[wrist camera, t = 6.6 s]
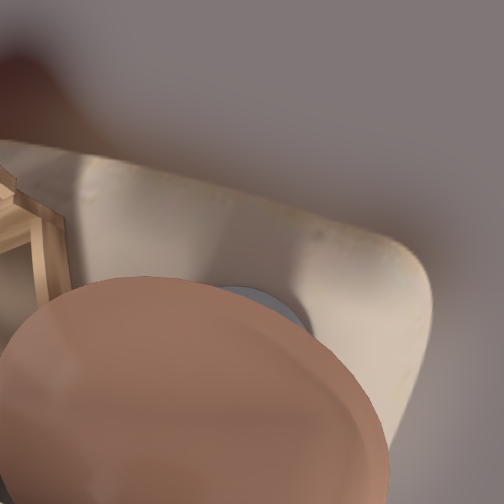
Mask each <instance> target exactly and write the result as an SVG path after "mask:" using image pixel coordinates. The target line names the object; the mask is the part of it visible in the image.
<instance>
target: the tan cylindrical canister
mask: <svg viewBox="0 0 504 504" xmlns="http://www.w3.org/2000/svg"><path fill="white" fill-rule="evenodd" d="M0 475H1V477H2V480H3V482H4V484H5V486H6V489H7V491H8V493H9V495H10V497H11V498H12V500H13V502H14V504H386V500H387V496H388V490H389V479H390V478H389V477H390V466H389V455H388V447H387V443H386V439H385V436H384V432H383V429H382V425H381V422H380V420H379V418H378V416H377V414H376V412H375V410H374V407H373V405H372V403H371V401H370V399H369V398H368V396H367V395H366V393H365V392H364V390H363V389H362V387H361V386H360V384H359V383H358V381H357V380H356V379H355V377H354V376H353V374H352V373H351V372H350V371H349V370H348V369H347V368H346V367H345V366H344V365H343V364H342V362H341V361H340V360H339V359H338V358H337V357H336V356H335V355H334V354H333V353H332V352H331V351H330V350H329V349H328V348H327V347H325V346H324V345H323V344H322V343H320V342H319V341H318V340H317V339H316V338H314V337H313V336H312V335H311V334H310V333H308V332H307V331H306V330H304V329H303V328H301V327H300V326H298V325H296V324H295V323H293V322H292V321H290V320H288V319H287V318H285V317H284V316H282V315H281V314H279V313H277V312H276V311H274V310H272V309H269V308H267V307H265V306H263V305H261V304H259V303H257V302H255V301H252V300H250V299H248V298H246V297H244V296H241V295H238V294H235V293H232V292H229V291H226V290H223V289H220V288H217V287H214V286H211V285H206V284H201V283H196V282H191V281H186V280H182V279H175V278H161V277H148V276H142V277H127V278H114V279H109V280H104V281H100V282H95V283H90V284H87V285H84V286H81V287H79V288H76V289H74V290H71V291H68V292H66V293H63V294H62V295H60V296H58V297H57V298H55V299H53V300H51V301H50V302H48V303H46V304H45V305H43V306H42V307H41V308H40V309H38V310H37V311H36V312H35V313H34V314H32V315H31V316H30V317H29V318H28V319H26V321H25V322H24V323H23V324H22V325H21V326H20V328H19V329H18V330H17V331H16V332H15V334H14V335H13V336H12V338H11V339H10V341H9V343H8V344H7V346H6V348H5V349H4V351H3V353H2V355H1V357H0Z"/></svg>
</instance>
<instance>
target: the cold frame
mask: <svg viewBox="0 0 504 504" xmlns="http://www.w3.org/2000/svg"><path fill="white" fill-rule="evenodd" d="M71 290H72V286H71V279H70V272H69V264H68V256H67V246H66V236H65V224H64V217H63V216H61V215H59V214H57V213H56V212H54V211H52V210H50V209H49V208H47V207H45V206H44V205H42V204H40V203H39V202H37V201H35V200H34V199H32V198H30V197H29V196H27V195H25V194H24V193H22V192H20V191H19V190H17V189H15V194H14V195H12V196H10V197H8V198H6V199H4V200H3V199H2V198H0V357H1V355H2V353H3V351H4V349H5V348H6V346H7V344H8V343H9V341H10V339H11V338H12V336H13V335H14V334H15V332H16V331H17V330H18V329H19V328H20V326H21V325H22V324H23V323H24V322H25V321H26V319H28V318H29V317H30V316H31V315H32V314H34V313H35V312H36V311H37V310H38V309H40V308H41V307H42V306H43V305H45V304H46V303H48V302H50V301H51V300H53V299H55V298H57V297H58V296H60V295H62V294H63V293H66V292H68V291H71Z"/></svg>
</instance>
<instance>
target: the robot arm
mask: <svg viewBox="0 0 504 504" xmlns="http://www.w3.org/2000/svg"><path fill="white" fill-rule="evenodd" d="M0 504H14V502H13V500H12V498H11V497H10V495H9V493H8V491H7V489H6V486H5V484H4V482H3V480H2V477H1V475H0Z"/></svg>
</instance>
